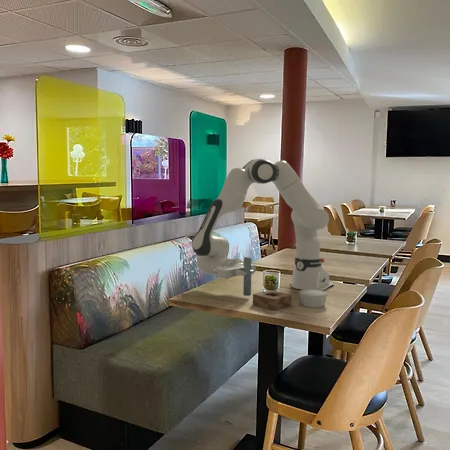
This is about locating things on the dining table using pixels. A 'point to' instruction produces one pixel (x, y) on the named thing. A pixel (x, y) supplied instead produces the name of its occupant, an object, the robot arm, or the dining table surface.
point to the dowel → (247, 276)
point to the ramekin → (313, 298)
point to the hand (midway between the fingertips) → (249, 273)
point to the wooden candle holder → (272, 300)
